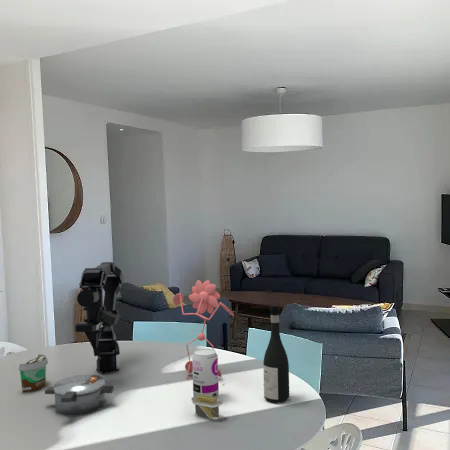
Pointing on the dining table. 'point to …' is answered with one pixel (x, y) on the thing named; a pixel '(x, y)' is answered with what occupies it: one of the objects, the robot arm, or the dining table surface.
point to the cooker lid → (78, 386)
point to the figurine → (201, 310)
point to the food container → (33, 374)
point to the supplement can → (205, 373)
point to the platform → (206, 406)
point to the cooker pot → (81, 402)
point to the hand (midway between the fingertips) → (95, 348)
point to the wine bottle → (276, 364)
